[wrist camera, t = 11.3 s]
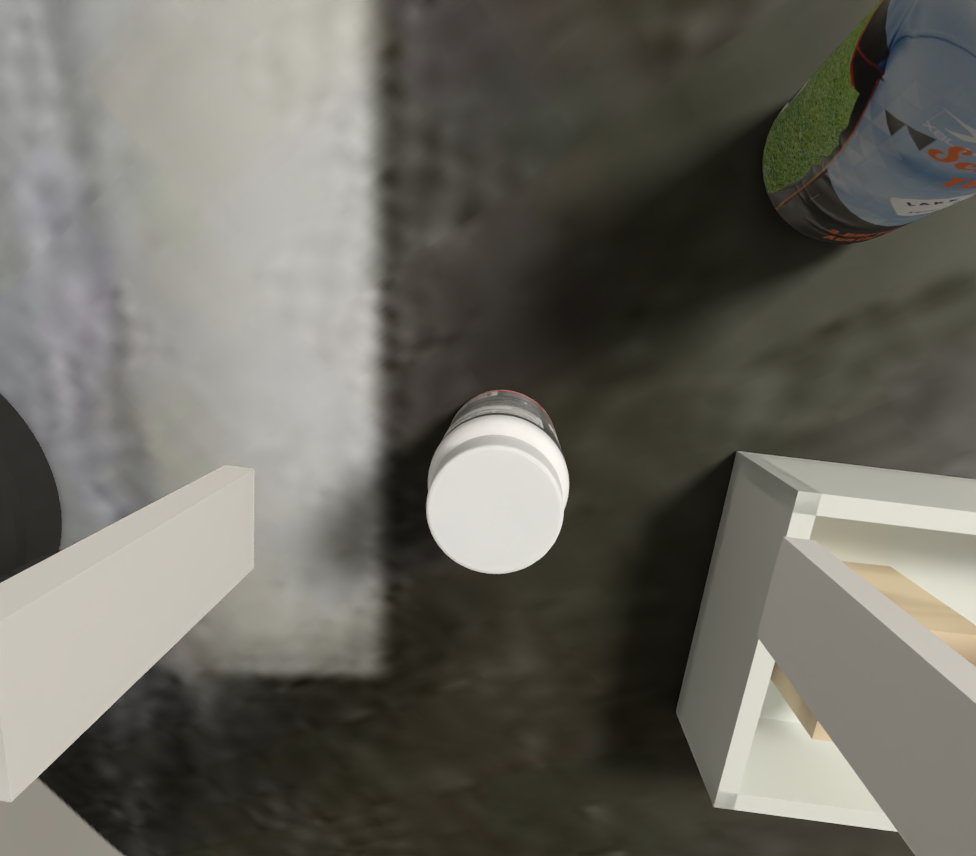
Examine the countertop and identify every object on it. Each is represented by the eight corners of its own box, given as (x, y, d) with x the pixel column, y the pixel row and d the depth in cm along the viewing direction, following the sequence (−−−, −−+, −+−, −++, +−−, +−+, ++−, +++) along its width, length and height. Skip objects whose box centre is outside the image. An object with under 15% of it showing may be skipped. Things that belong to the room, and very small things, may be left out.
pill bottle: (544, 498, 23) (561, 601, 15) (442, 481, 23) (404, 575, 15) (564, 397, 22) (594, 449, 14) (457, 379, 22) (424, 421, 14)
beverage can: (773, 273, 21) (1110, 229, 9) (719, 84, 19) (1035, -258, 8) (935, 207, 20) (1537, 66, 8) (891, 4, 18) (1543, -515, 7)
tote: (675, 712, 26) (713, 807, 21) (736, 450, 22) (798, 491, 18) (1034, 758, 25) (1159, 866, 20) (1148, 500, 22) (1328, 554, 17)
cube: (859, 664, 24) (948, 755, 19) (751, 651, 24) (812, 739, 19) (890, 566, 23) (993, 637, 18) (775, 553, 23) (847, 620, 18)
